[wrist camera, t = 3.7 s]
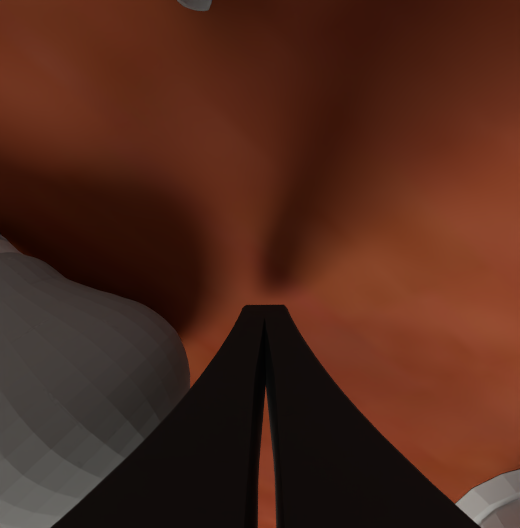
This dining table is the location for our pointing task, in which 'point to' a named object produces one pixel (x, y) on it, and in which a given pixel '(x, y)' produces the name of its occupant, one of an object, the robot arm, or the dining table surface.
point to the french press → (494, 502)
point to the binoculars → (196, 4)
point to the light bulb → (74, 386)
